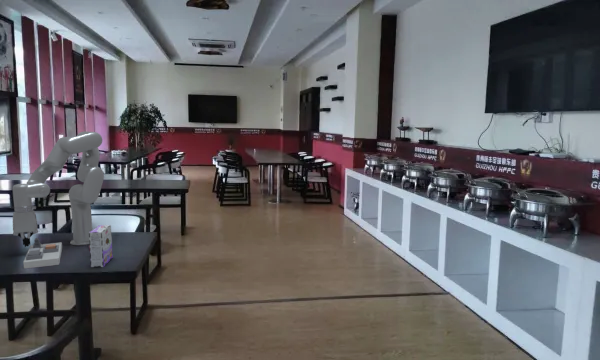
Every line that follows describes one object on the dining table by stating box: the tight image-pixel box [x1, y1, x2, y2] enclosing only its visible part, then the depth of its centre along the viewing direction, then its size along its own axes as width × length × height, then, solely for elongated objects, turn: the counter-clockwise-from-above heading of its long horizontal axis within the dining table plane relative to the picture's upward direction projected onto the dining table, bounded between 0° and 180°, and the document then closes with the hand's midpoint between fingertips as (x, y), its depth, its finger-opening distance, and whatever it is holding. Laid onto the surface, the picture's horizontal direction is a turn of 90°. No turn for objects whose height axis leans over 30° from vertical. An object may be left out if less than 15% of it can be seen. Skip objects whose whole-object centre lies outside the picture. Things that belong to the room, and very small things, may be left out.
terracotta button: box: [46, 243, 56, 249], centre depth 222 cm, size 4×4×2 cm
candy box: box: [88, 224, 114, 268], centre depth 212 cm, size 14×6×16 cm, turn 5°
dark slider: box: [33, 237, 42, 248], centre depth 227 cm, size 3×5×4 cm, turn 25°
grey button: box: [28, 248, 40, 256], centre depth 211 cm, size 4×4×2 cm
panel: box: [22, 242, 63, 270], centre depth 221 cm, size 14×30×5 cm, turn 25°
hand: (26, 245), depth 225 cm, fingers closed
